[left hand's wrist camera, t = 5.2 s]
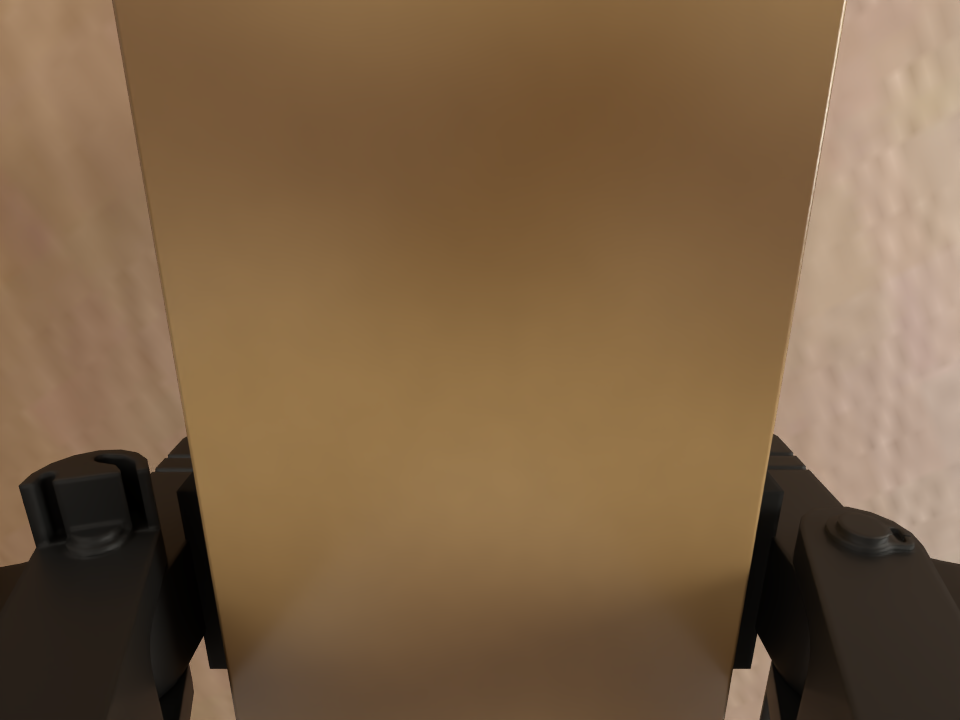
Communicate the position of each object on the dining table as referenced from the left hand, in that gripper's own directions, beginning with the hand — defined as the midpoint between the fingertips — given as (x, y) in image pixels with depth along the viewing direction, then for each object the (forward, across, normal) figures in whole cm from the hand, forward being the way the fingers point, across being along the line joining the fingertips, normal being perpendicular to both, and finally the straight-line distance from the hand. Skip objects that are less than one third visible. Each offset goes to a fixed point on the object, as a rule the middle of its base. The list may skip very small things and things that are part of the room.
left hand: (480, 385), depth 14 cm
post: (0, 0, -23) cm, 23 cm away
